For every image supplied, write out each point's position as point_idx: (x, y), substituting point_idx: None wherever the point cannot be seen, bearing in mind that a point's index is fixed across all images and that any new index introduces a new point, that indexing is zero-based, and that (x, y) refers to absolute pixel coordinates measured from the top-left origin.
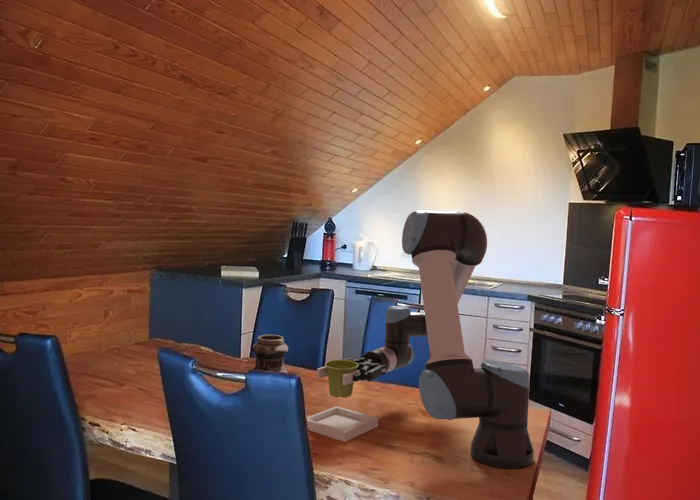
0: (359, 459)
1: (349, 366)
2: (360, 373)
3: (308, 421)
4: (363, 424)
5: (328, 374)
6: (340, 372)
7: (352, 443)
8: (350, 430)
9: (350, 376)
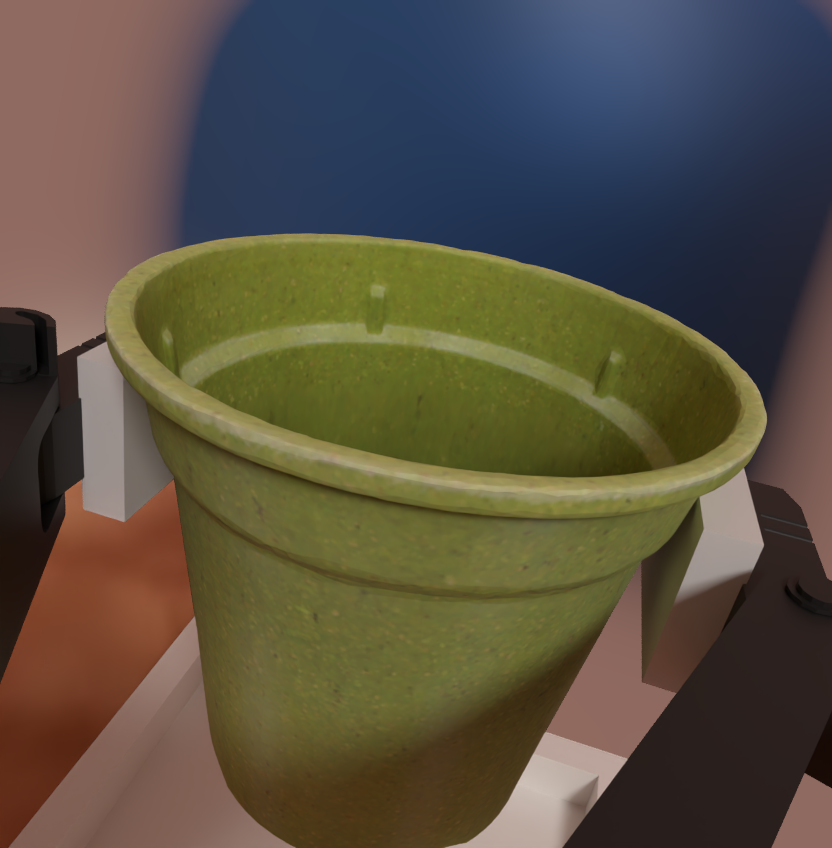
0: (71, 506)
1: (371, 561)
2: (62, 390)
3: (558, 739)
4: (31, 821)
5: (551, 420)
6: (356, 294)
7: (130, 662)
8: (157, 664)
9: None
